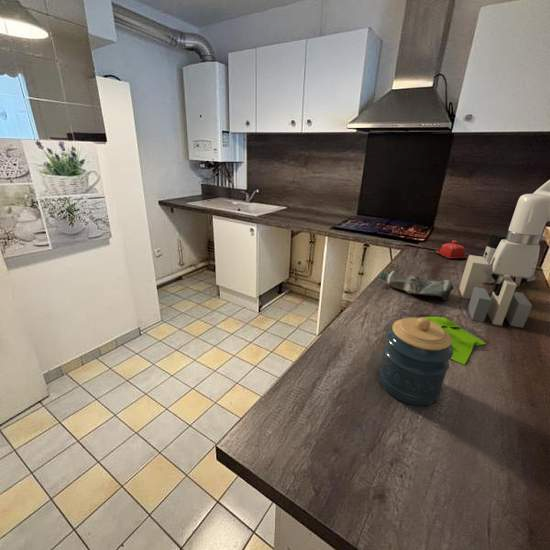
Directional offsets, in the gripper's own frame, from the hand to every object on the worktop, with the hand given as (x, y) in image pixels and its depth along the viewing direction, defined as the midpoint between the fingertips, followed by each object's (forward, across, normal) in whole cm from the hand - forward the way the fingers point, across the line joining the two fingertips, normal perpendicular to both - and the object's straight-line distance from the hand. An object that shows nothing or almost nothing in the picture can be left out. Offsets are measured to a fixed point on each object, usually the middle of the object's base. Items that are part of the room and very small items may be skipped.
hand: (502, 294), depth 91 cm
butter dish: (+9, +6, -65) cm, 66 cm away
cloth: (+9, +16, +20) cm, 27 cm away
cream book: (+9, 0, 0) cm, 9 cm away
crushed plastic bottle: (+9, +24, -10) cm, 28 cm away
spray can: (+9, -4, -35) cm, 36 cm away
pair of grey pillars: (+9, 0, 0) cm, 9 cm away
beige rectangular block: (+9, +5, -17) cm, 20 cm away
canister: (+9, +25, +44) cm, 52 cm away
